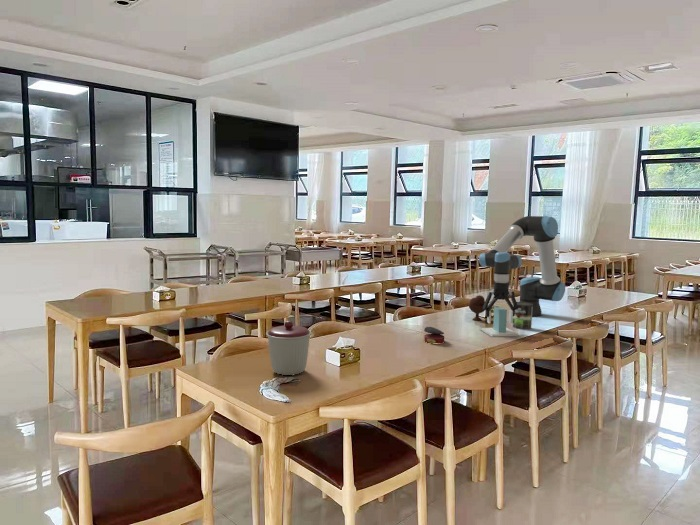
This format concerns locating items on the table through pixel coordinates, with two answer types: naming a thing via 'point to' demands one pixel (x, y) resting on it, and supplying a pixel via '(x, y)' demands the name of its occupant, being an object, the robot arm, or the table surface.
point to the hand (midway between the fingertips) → (499, 322)
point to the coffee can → (523, 316)
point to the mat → (499, 336)
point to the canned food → (433, 335)
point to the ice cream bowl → (477, 306)
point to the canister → (288, 348)
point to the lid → (499, 324)
